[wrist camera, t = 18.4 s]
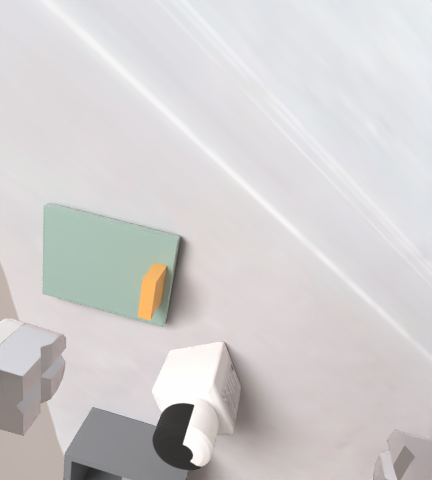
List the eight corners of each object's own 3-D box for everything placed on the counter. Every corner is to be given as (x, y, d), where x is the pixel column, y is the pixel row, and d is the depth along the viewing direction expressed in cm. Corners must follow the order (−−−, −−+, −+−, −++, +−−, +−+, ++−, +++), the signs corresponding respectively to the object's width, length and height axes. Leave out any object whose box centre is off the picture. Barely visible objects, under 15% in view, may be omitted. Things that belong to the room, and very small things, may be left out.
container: (188, 394, 56) (159, 481, 44) (169, 348, 53) (133, 428, 42) (242, 387, 54) (227, 477, 42) (224, 339, 51) (202, 421, 39)
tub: (196, 438, 59) (182, 490, 52) (183, 490, 64) (168, 545, 56) (92, 407, 60) (64, 453, 53) (88, 460, 65) (61, 510, 58)
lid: (182, 233, 47) (167, 255, 41) (168, 317, 52) (152, 347, 46) (53, 200, 48) (22, 217, 43) (51, 286, 53) (23, 310, 48)
